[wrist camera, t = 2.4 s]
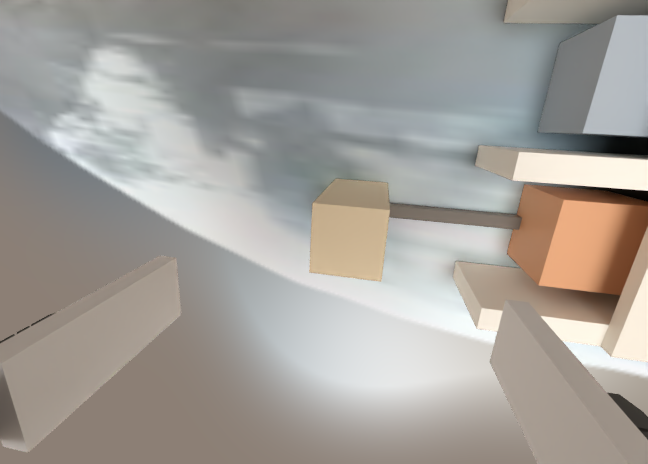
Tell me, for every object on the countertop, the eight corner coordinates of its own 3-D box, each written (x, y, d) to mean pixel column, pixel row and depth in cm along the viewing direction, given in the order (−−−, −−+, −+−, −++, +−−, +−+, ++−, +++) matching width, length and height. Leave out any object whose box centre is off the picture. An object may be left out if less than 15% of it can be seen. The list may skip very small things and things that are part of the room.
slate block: (559, 43, 23) (617, 15, 17) (655, 45, 22) (750, 15, 16) (537, 132, 25) (582, 133, 19) (624, 137, 24) (700, 139, 18)
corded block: (336, 169, 28) (312, 190, 19) (607, 190, 25) (743, 228, 15) (332, 234, 30) (308, 283, 20) (583, 261, 27) (692, 333, 17)
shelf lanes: (508, -4, 22) (585, -85, 14) (776, -5, 20) (1065, -103, 11) (452, 277, 29) (481, 337, 21) (647, 300, 27) (769, 380, 18)
